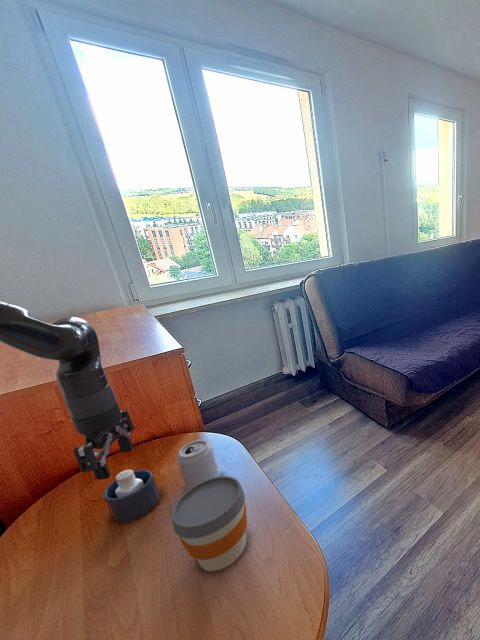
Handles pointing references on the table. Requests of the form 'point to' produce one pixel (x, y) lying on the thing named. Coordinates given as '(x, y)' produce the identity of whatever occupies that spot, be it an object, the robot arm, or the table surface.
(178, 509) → the reusable coffee cup
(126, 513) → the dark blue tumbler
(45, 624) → the table surface
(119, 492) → the salt shaker
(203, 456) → the can
